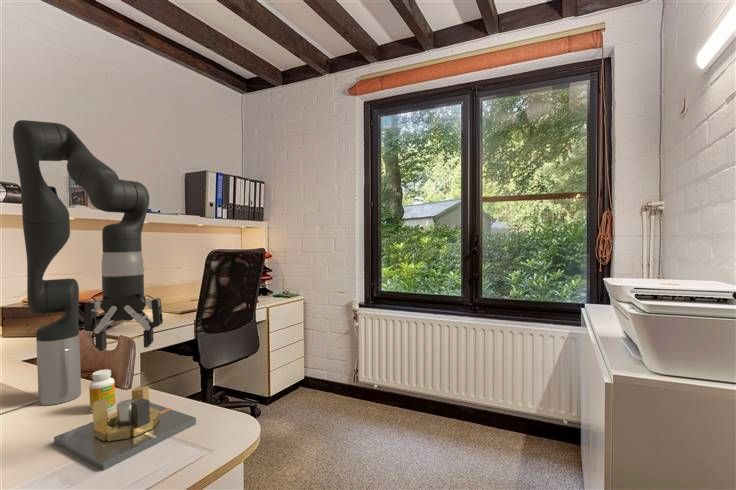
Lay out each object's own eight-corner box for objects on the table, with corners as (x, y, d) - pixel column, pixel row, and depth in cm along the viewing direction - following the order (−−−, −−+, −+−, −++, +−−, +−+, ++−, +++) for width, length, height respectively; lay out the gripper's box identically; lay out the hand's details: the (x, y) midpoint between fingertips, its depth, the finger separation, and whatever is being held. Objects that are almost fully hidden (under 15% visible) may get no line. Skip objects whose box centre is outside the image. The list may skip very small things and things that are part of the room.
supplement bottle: (102, 414, 95) (101, 376, 95) (84, 412, 96) (83, 375, 96) (120, 405, 100) (119, 368, 100) (103, 403, 101) (102, 367, 101)
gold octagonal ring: (84, 432, 83) (83, 402, 83) (139, 409, 94) (138, 383, 94) (114, 446, 77) (113, 414, 77) (170, 420, 88) (169, 392, 88)
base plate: (54, 443, 82) (52, 411, 81) (146, 406, 99) (145, 380, 99) (103, 470, 72) (102, 434, 72) (196, 423, 89) (195, 394, 89)
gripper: (75, 276, 76) (78, 356, 76) (154, 273, 79) (156, 350, 79) (93, 272, 83) (95, 346, 83) (164, 270, 86) (166, 341, 87)
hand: (125, 348), depth 81 cm, fingers open, 8 cm apart
